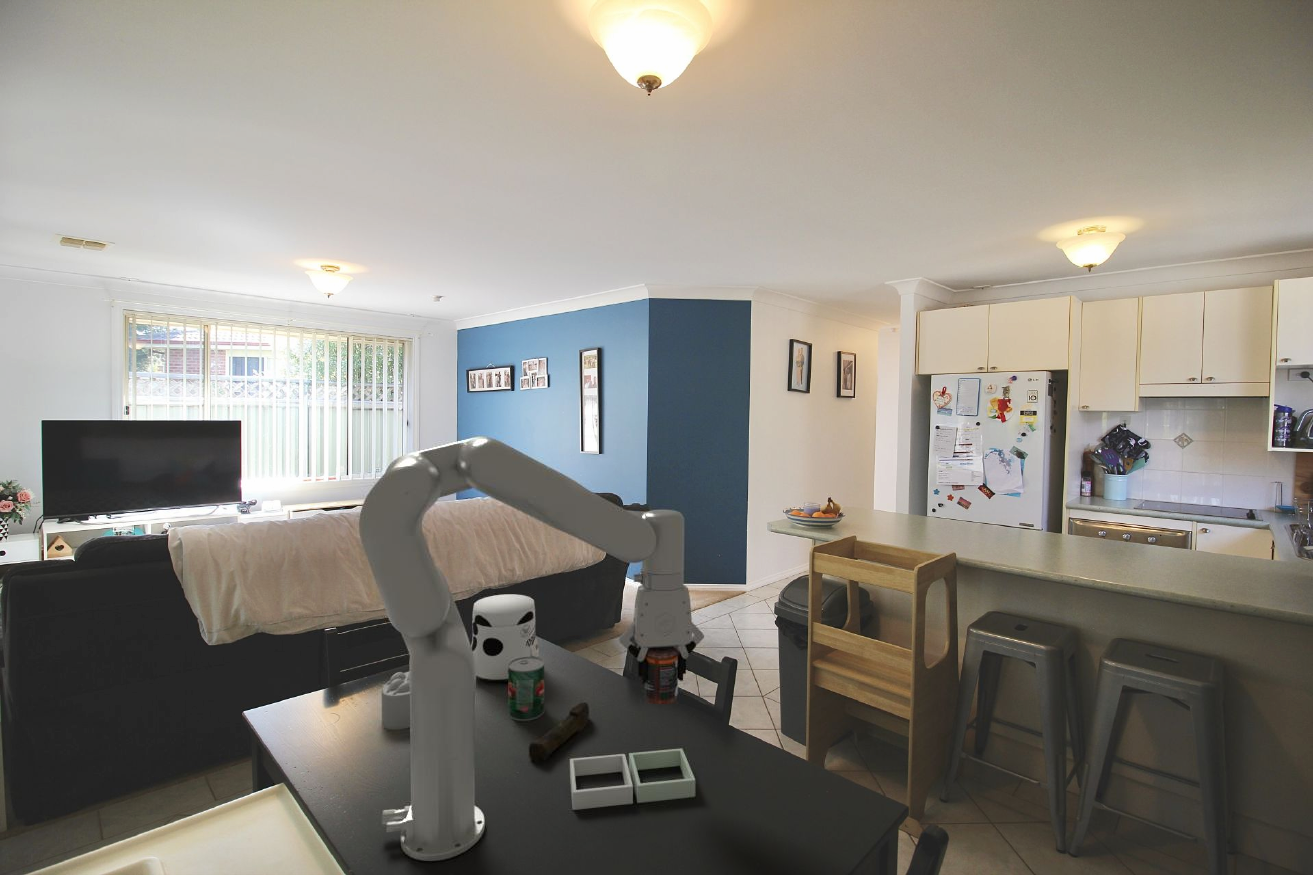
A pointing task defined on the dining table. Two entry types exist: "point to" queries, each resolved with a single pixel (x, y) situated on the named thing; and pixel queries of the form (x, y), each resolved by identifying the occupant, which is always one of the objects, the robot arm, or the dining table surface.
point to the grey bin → (604, 794)
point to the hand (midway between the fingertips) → (661, 677)
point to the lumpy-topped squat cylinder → (396, 702)
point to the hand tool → (559, 733)
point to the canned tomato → (526, 688)
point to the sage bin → (662, 788)
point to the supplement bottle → (661, 675)
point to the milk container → (502, 634)
